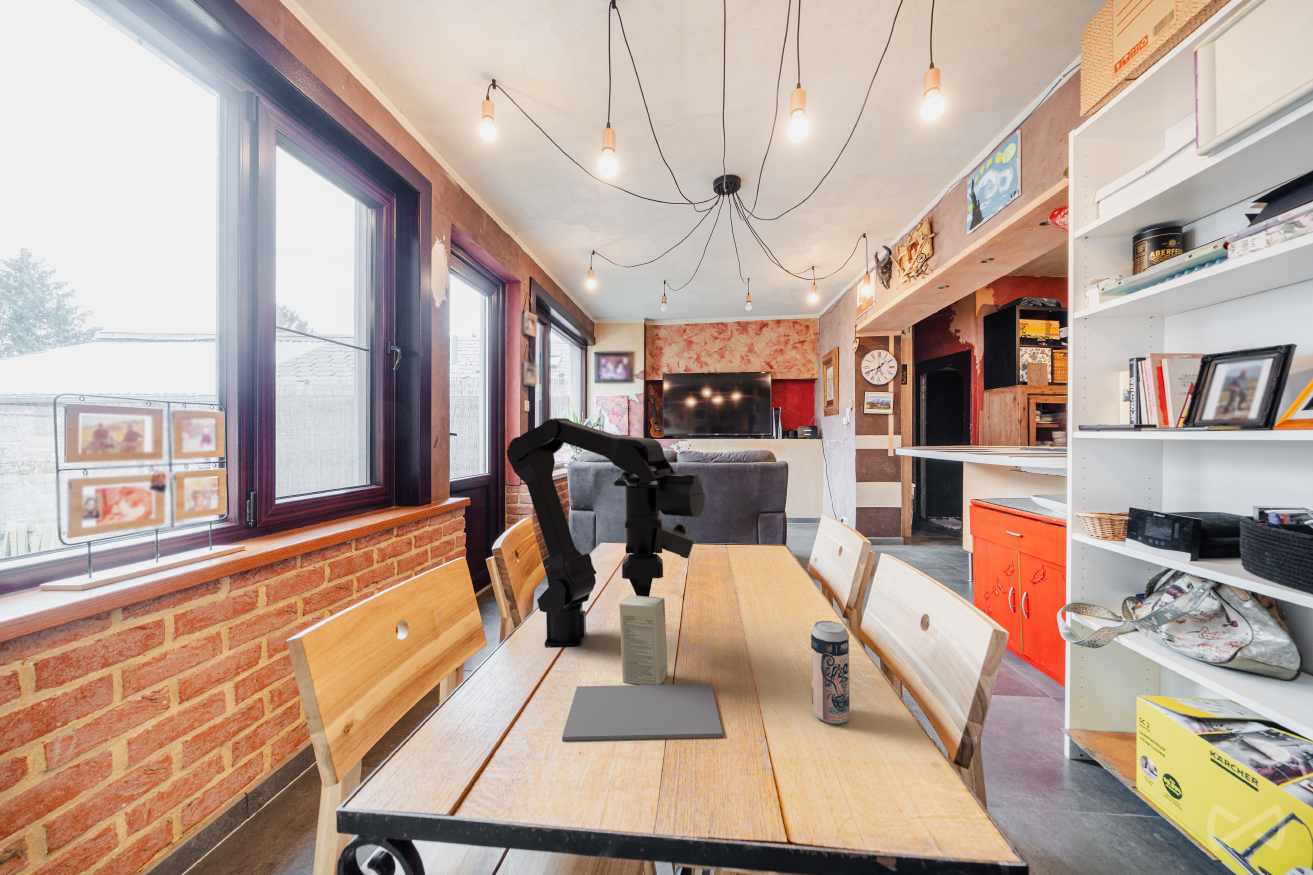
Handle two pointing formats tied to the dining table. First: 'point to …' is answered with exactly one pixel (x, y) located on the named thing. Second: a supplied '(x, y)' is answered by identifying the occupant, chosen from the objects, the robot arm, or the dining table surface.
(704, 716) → the mat
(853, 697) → the dining table surface
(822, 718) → the beer can
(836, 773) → the dining table surface
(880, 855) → the dining table surface
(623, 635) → the skincare box
